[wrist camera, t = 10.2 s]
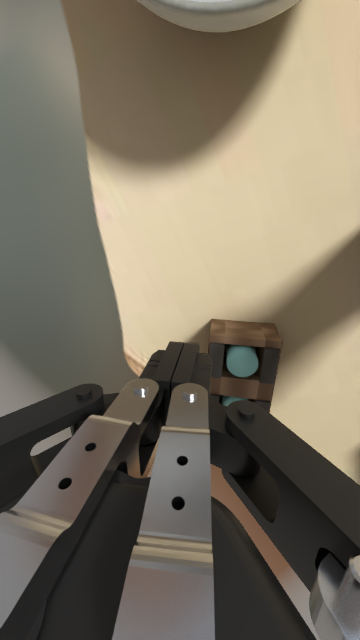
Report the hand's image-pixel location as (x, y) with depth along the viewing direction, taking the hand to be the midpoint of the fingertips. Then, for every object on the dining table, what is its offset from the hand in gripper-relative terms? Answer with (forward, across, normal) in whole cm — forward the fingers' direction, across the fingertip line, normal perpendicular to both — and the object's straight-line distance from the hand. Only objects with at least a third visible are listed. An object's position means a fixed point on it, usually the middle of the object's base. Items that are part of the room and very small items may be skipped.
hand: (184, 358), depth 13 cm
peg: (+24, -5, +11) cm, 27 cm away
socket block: (+25, -5, +15) cm, 29 cm away
